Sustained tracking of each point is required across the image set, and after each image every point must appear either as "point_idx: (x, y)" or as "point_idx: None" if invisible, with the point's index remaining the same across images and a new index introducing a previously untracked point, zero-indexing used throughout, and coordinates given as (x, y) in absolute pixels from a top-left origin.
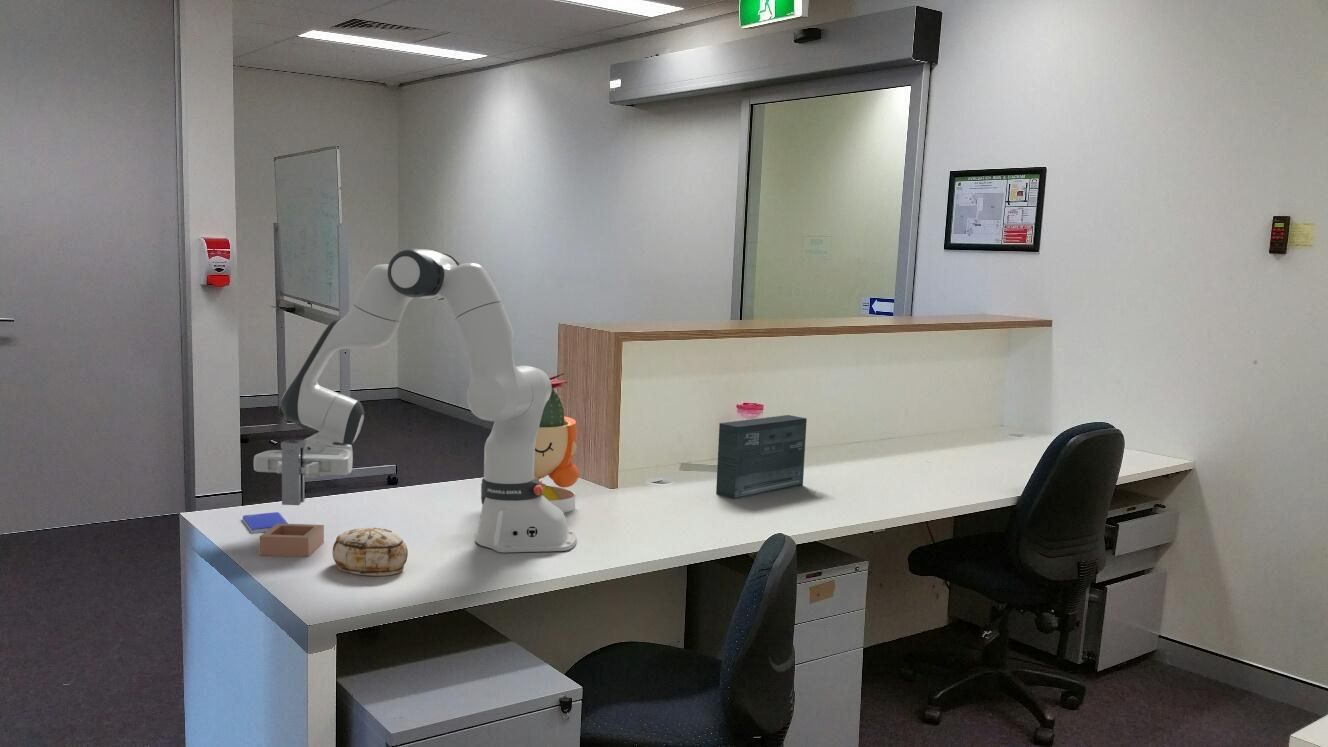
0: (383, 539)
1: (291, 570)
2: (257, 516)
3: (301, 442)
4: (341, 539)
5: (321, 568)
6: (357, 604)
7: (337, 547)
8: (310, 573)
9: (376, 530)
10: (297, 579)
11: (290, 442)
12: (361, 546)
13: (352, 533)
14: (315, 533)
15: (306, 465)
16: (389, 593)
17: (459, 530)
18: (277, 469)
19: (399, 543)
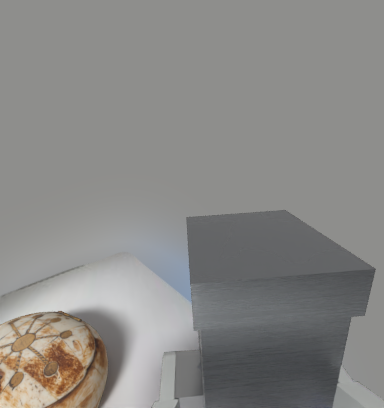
0: (16, 319)
1: (174, 350)
2: None
3: (187, 233)
4: (86, 330)
5: (130, 369)
6: (92, 275)
7: (96, 333)
8: (144, 342)
9: (11, 339)
10: (156, 318)
11: (247, 221)
12: (60, 311)
13: (63, 330)
14: None
15: (175, 377)
16: (54, 299)
17: None
18: None
19: None
